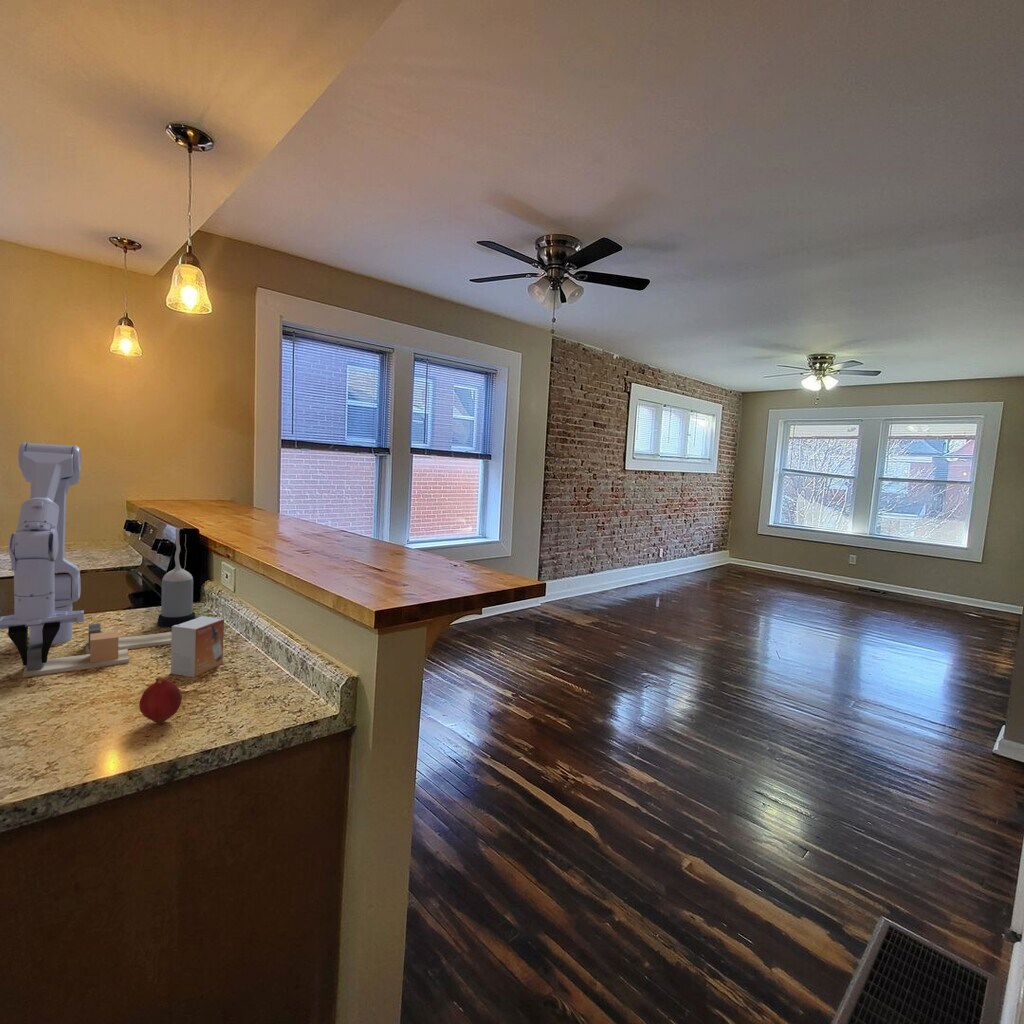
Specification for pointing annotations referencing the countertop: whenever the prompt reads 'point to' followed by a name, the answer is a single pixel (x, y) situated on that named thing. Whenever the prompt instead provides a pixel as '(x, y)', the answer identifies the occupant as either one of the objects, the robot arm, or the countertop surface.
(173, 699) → the onion
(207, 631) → the small box
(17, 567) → the robot arm
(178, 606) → the humidifier
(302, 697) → the countertop surface
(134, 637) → the far strip
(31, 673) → the near strip
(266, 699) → the countertop surface
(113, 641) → the block
